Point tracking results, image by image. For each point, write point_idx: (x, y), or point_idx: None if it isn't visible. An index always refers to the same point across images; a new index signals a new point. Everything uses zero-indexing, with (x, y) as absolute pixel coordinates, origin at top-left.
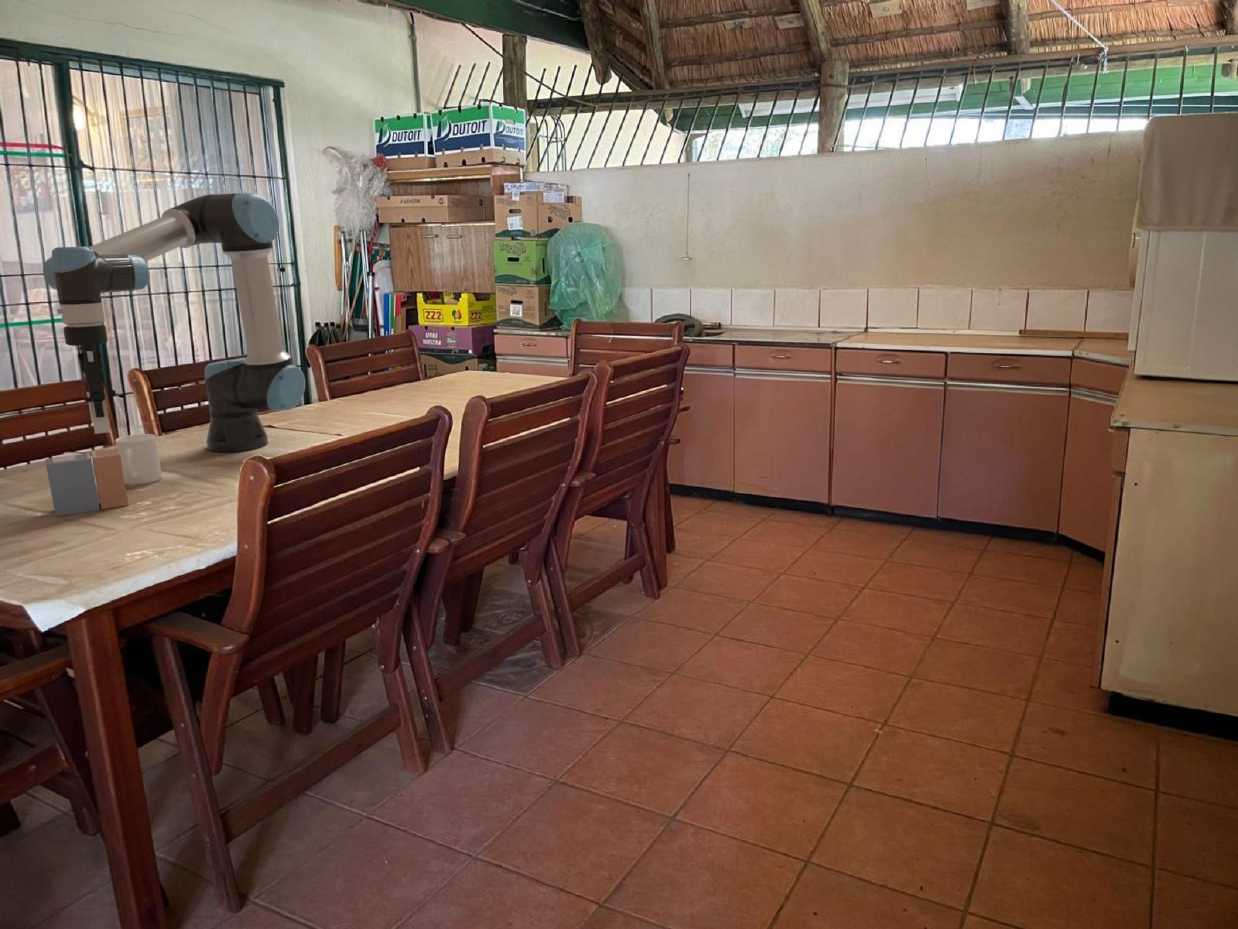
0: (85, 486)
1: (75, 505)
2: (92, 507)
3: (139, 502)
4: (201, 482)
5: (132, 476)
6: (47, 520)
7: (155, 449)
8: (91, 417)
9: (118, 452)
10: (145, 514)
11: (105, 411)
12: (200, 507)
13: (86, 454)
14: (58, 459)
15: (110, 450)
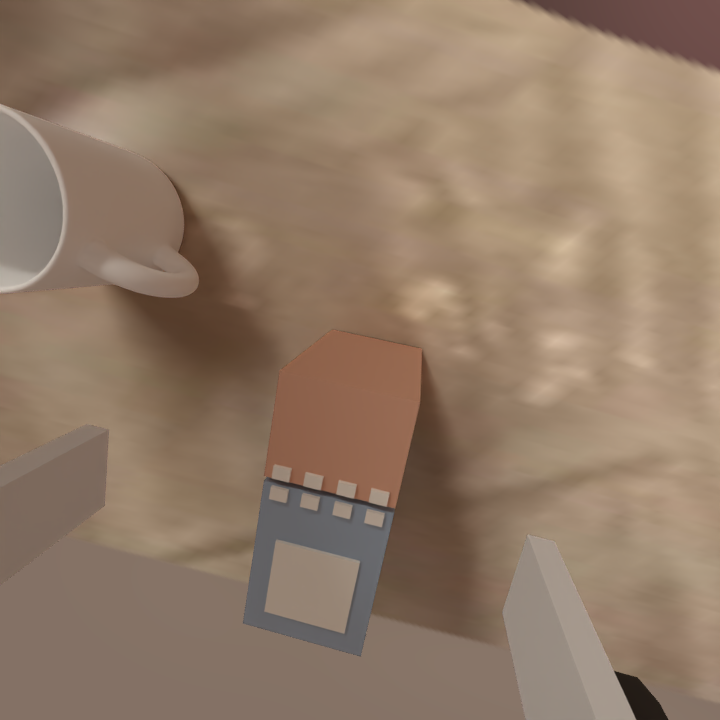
0: None
1: None
2: None
3: (407, 310)
4: (297, 49)
5: (196, 271)
6: (399, 547)
7: (77, 138)
8: (80, 523)
9: (356, 390)
10: (574, 340)
11: (612, 690)
12: (656, 168)
13: (285, 500)
14: (307, 605)
15: (278, 402)
